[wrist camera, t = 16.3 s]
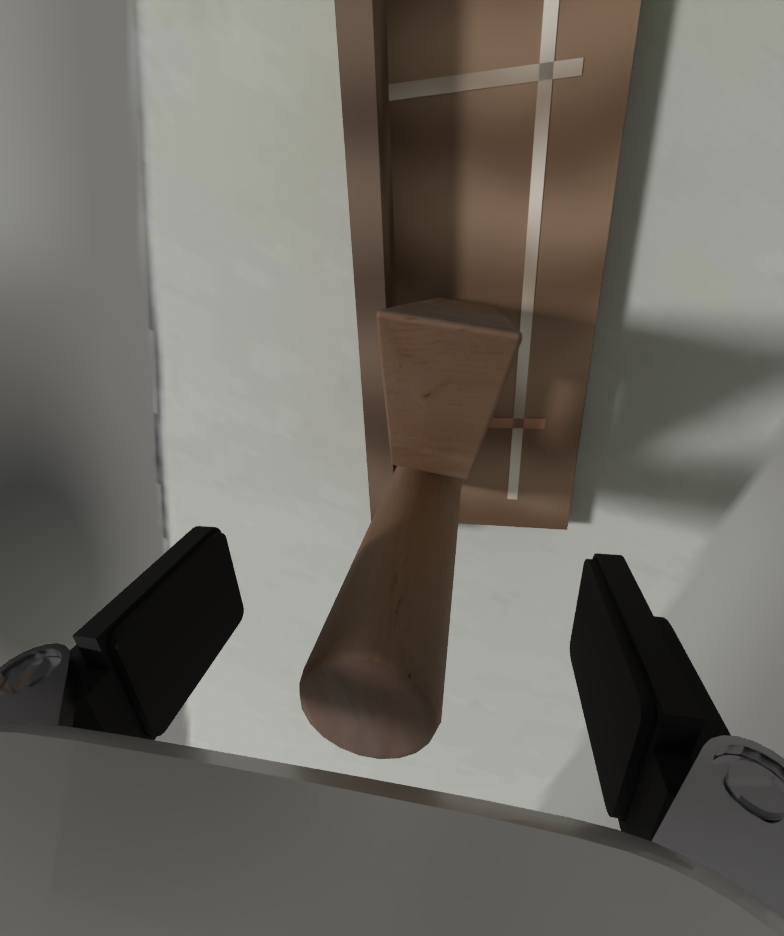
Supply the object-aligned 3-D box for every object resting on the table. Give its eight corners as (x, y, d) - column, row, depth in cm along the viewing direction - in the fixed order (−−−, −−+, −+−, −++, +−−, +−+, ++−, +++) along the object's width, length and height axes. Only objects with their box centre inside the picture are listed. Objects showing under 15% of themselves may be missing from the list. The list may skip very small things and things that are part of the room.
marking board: (355, -90, 19) (320, -194, 15) (652, -156, 16) (710, -300, 12) (386, 508, 30) (372, 542, 26) (562, 517, 28) (576, 557, 24)
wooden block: (498, 306, 22) (553, 353, 6) (459, 484, 27) (429, 787, 11) (431, 296, 23) (313, 315, 7) (402, 473, 27) (291, 746, 11)
